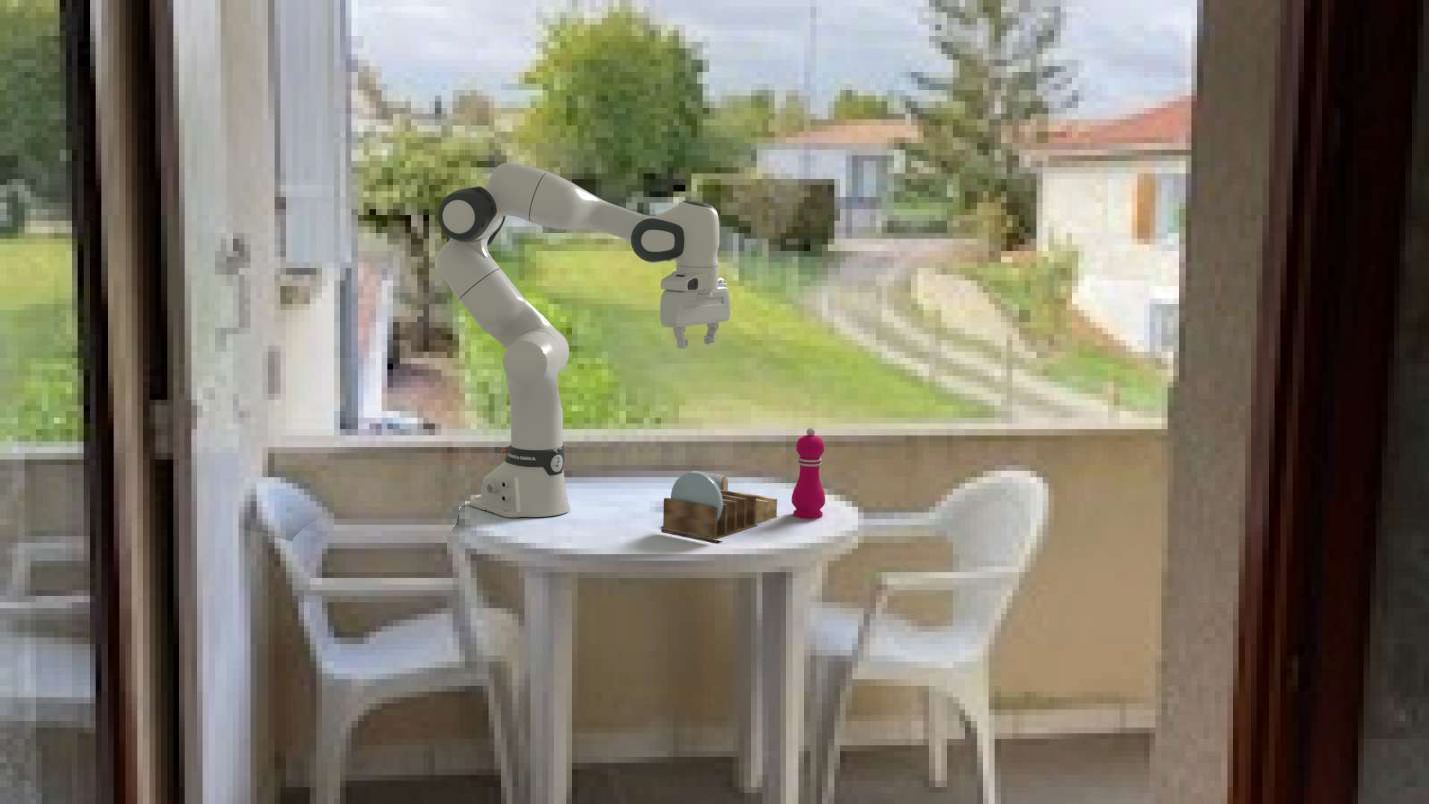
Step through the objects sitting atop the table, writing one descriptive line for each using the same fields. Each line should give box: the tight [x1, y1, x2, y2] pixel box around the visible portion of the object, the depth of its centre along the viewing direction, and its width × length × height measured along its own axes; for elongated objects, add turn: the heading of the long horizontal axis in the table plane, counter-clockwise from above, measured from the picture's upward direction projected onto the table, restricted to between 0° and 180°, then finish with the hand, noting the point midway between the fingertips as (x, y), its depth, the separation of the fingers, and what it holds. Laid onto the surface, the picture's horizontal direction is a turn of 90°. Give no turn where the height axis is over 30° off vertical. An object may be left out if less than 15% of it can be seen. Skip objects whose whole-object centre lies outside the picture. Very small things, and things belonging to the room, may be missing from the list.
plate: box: [670, 471, 723, 522], centre depth 296 cm, size 12×2×12 cm, turn 54°
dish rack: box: [660, 490, 758, 545], centre depth 301 cm, size 14×14×7 cm
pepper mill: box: [791, 427, 826, 520], centre depth 312 cm, size 7×7×20 cm
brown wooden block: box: [737, 491, 780, 522], centre depth 312 cm, size 10×6×5 cm, turn 54°
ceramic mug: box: [691, 470, 729, 491], centre depth 325 cm, size 11×8×8 cm
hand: (695, 346), depth 306 cm, fingers open, 8 cm apart
